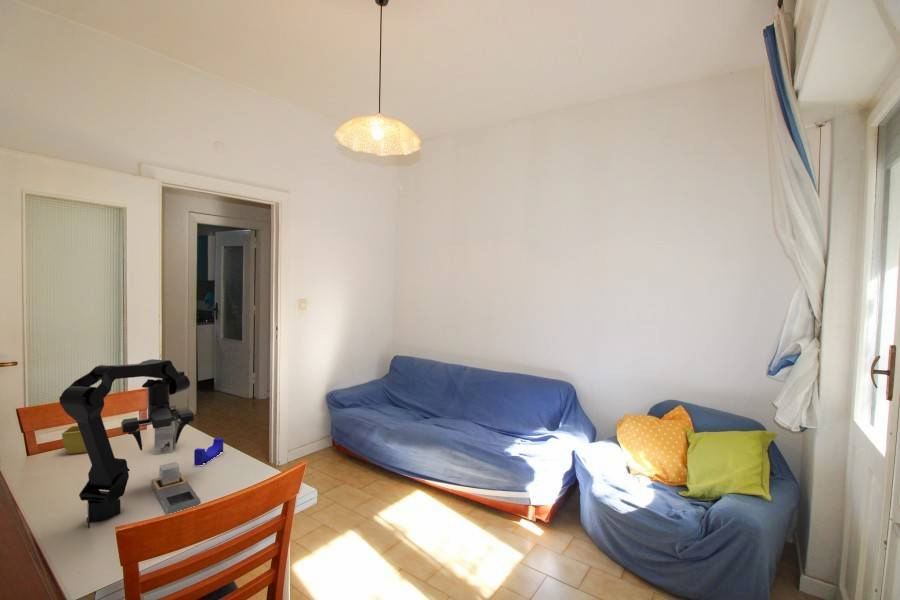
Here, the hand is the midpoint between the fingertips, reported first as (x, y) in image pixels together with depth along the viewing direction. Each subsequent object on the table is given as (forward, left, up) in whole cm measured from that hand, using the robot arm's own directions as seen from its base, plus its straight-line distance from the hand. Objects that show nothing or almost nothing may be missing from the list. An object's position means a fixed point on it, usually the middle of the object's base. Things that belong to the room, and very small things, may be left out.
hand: (158, 446), depth 135 cm
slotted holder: (+2, -12, -13) cm, 18 cm away
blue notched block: (+18, +13, -14) cm, 26 cm away
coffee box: (+8, +34, -13) cm, 37 cm away
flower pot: (-16, +52, -13) cm, 56 cm away
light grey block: (+2, -5, -12) cm, 13 cm away
